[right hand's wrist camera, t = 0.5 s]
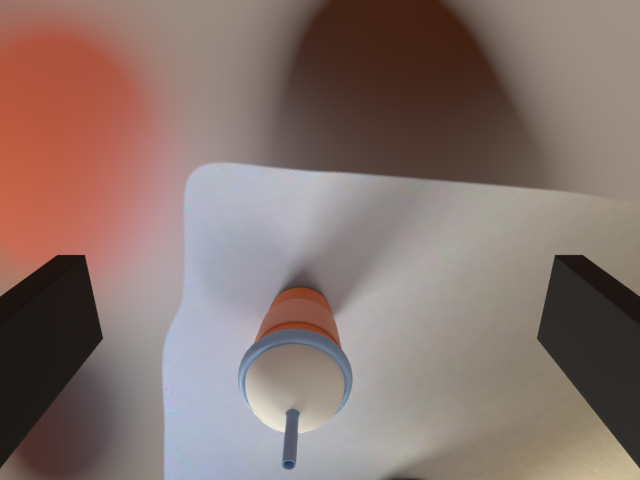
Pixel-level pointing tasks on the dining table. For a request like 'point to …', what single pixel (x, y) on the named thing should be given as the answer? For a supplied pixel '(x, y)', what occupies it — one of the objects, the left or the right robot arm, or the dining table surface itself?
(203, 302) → the dining table surface
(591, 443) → the dining table surface
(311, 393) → the cup with straw
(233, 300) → the dining table surface
